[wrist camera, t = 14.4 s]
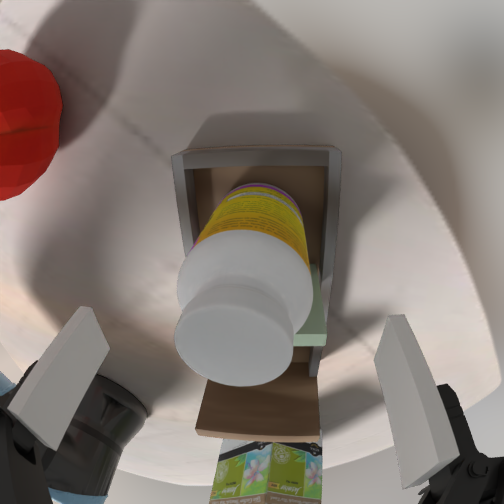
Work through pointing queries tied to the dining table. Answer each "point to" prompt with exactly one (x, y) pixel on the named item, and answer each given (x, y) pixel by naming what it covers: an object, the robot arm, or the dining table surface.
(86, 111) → the dining table surface
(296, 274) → the supplement bottle
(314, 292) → the pusher
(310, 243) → the lane
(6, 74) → the tomato
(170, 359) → the dining table surface
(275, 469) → the tea box
